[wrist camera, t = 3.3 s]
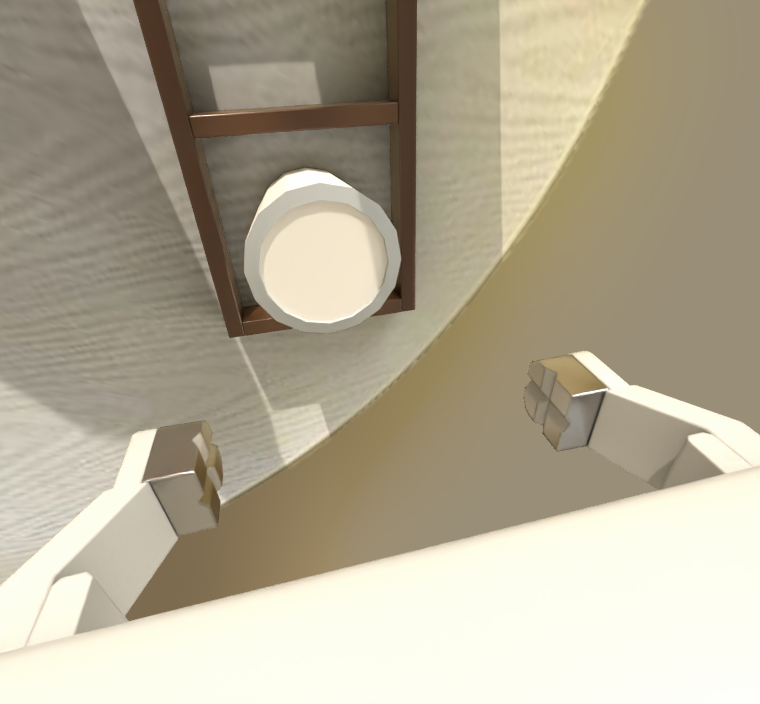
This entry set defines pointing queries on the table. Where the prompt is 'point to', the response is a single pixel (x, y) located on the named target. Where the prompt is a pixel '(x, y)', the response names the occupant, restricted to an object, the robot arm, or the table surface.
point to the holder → (286, 119)
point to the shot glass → (320, 253)
